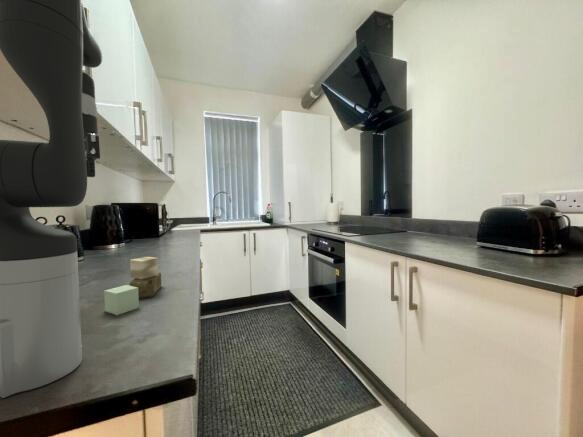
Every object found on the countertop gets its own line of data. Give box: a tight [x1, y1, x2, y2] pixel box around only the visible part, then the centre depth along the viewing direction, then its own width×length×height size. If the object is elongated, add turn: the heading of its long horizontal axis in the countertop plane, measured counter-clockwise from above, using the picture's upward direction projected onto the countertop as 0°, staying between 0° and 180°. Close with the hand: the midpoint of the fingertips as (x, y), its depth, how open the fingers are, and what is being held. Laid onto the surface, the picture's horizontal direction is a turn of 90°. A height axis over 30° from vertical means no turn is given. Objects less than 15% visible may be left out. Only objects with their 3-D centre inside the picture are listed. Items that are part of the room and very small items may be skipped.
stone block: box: [129, 271, 162, 299], centre depth 74 cm, size 6×12×5 cm, turn 15°
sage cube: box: [103, 284, 140, 316], centre depth 61 cm, size 5×5×5 cm
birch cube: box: [129, 256, 159, 279], centre depth 74 cm, size 5×5×5 cm
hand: (81, 178), depth 67 cm, fingers open, 8 cm apart
